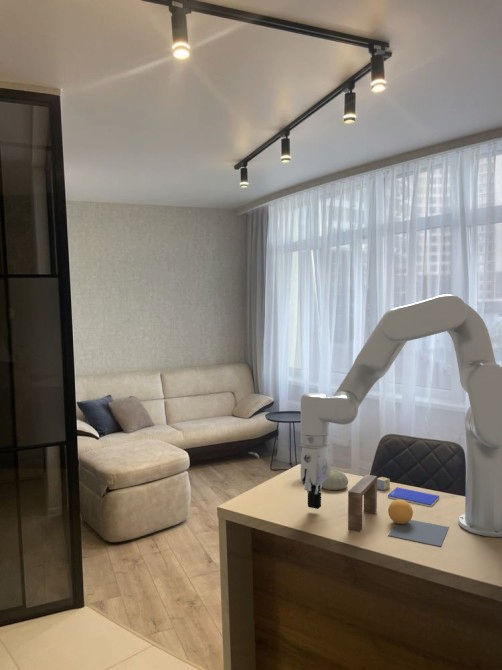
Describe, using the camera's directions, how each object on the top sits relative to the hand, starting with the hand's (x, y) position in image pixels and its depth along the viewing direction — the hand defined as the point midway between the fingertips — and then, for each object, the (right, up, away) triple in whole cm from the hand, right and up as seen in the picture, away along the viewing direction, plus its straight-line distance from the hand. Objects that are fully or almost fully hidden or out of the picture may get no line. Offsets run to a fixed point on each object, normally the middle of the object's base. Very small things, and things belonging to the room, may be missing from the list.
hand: (314, 506), depth 137 cm
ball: (+21, +1, -7) cm, 22 cm away
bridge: (+12, -2, -5) cm, 13 cm away
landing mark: (+24, -2, -12) cm, 27 cm away
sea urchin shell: (+8, -1, +21) cm, 22 cm away
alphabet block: (+23, -1, +19) cm, 30 cm away
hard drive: (+30, -2, +11) cm, 32 cm away
